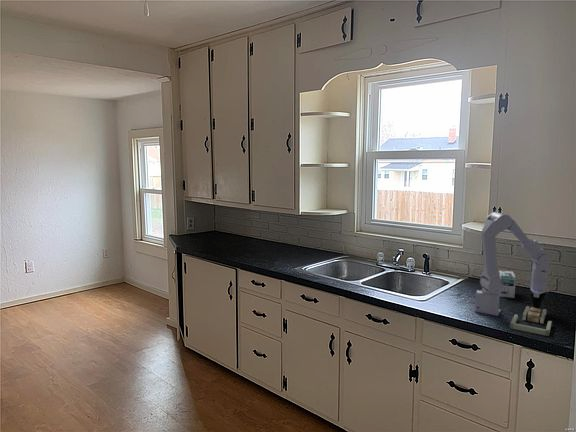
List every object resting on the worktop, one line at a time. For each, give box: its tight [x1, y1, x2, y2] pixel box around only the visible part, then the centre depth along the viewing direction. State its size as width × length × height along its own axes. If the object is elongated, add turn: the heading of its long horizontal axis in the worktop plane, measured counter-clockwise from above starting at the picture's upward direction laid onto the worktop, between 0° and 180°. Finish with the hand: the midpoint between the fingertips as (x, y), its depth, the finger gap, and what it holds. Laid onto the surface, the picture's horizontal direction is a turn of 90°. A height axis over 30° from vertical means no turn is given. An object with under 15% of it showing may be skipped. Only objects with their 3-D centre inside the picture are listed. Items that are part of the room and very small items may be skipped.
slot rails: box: [521, 305, 547, 325], centre depth 183 cm, size 8×12×2 cm, turn 145°
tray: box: [509, 314, 553, 337], centre depth 173 cm, size 13×12×2 cm
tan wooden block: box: [526, 311, 541, 324], centre depth 180 cm, size 4×4×3 cm
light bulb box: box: [498, 269, 517, 299], centre depth 212 cm, size 11×7×11 cm, turn 158°
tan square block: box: [529, 306, 542, 317], centre depth 185 cm, size 4×4×3 cm
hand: (536, 308), depth 189 cm, fingers closed
